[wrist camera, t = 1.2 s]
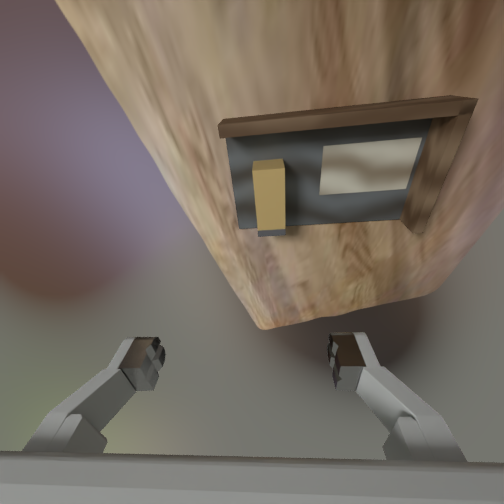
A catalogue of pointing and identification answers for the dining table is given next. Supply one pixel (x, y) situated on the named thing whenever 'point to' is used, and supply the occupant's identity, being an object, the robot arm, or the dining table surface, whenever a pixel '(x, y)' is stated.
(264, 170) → the ochre bar
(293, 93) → the dining table surface
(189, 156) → the dining table surface
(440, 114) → the gray brown tray
